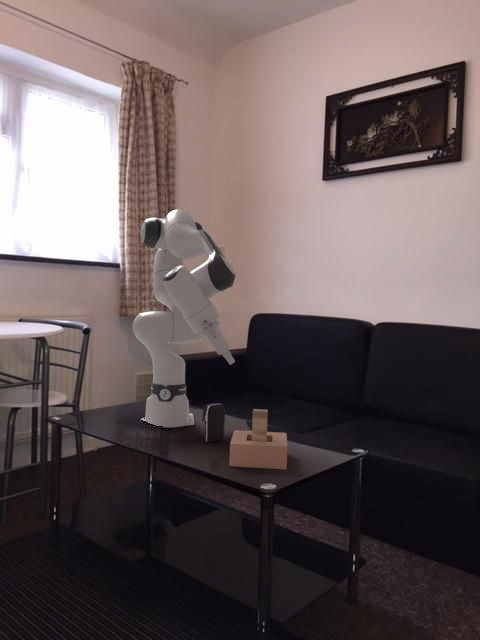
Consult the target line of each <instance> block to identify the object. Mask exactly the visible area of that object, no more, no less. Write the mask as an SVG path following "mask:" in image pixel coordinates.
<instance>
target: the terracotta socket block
mask: <svg viewBox="0 0 480 640" xmlns="http://www.w3.org/2000/svg"><path fill="white" fill-rule="evenodd" d="M228 462H229V463H228V466H229V467H238V468H239V467H240V468H252V469H253V468H255V469H270V470H271V469H272V470H274V469H275V470H287V468H288V467H287V466H288V437H287V432H275V431H274V432H273V431H267V440H266V442H264V441H252V430H237V429H235V430H234V431H233V434H232V436H231V439H230V443H229V461H228Z"/></svg>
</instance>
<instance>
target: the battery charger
mask: <svg viewBox="0 0 480 640" xmlns="http://www.w3.org/2000/svg"><path fill="white" fill-rule="evenodd" d="M201 417H202V418H201V419H202V420H201V421H203V422H204V436H203V441H204V442H207V443H211V442H212V443H213V442H217V441H221V440H224V439H225V422H226V420H225V419H226V407H225V405H224V404H223V403H217V402H214V403H213V402H212V403H208V404H205V405H204V406H203V408H202V415H201Z"/></svg>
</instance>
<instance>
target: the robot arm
mask: <svg viewBox="0 0 480 640" xmlns="http://www.w3.org/2000/svg"><path fill="white" fill-rule="evenodd" d="M140 239H141V241H142V244H143V245H144V246H145V247H147V248H149V249H157V250H156V252H155V254H154V260H153V268H152V269H153V274H152V281H153V295H154V298H155V300H157V301H158V302H159V303H161V304H162V305H164V306H166V307H167V308H168V309H169V310H170V311H163V310H162V311H161V310H160V311H158V310H156V311H155V310H149V311H145V312H139V313H138V314H137V315H136V316H135V318H134V320H133V322H132V323H133V324H132V331H133V335H134V336H135V338H136V340H138V341H140V343H142V345H144V347H145V348H146V350H147V351H148V353H149V354H150V357H151V363H152V382H151V386H150V393H151V394H150V396H148V397H147V399H146V401H145V402H146V404H145V417H142V418H140V421H141V420H143V421H146V422H148V423H150V424H153V425H156V426H163V427H162V428H180V427H184V426H194V425H195V419H194V414H193V413H192V412H191V411H192V410H191V409H190V405H189V404H190V403H189V402H190V400H189V399H188V396H187V395H186V394H187V385H186V361H185V360H184V358H183V357H181V356H180V355H178V354H177V353H175V352H174V351H172V350H170V347H169V344H192V343H193V344H194V343H199V342H201V341H203V340H204V339H205V338H206V339H207V340H208V341H209V344H210V345H211V346H212V347H213V349H214V351H215V352H216V354H217V355H219V356H221V355H222V357H223V358H224V359H225V360H226V362H228V364H229V365H230V366H231V365H233V364H234V363H235V362H236V361H235V358H234V357H233V356H232V353H231V351H230V345H229V344H228V342H227V340H226V338H225V337H224V335H223V332H222V330H221V328H220V321H219V320H218V319H220V317H221V314H220V313H219V310H217V309H216V307H215V305H214V304H213V303H212V301H211V300H210V299H212V298H213V297H215V296H216V295H217V294H219V293H221V292H224V291H225V290H227V289H229V288H231V287H233V286H234V283H235V279H236V272H235V270H234V269H235V268H233V265H232V264H231V263H230V262H229V261H228V259H227V258H226V257H225V256H224V255H223V253H222V252H221V249H220V248H219V247H218V245H217V244H216V242H215V241H214V240H213V238H212V237H211V236H210V234H208V233H207V231H205V230H204V227H203V226H202V224H201V223H200V222H197V221H194V218H193V217H192V216H191V214H190V213H189V212H187V211H186V210H184V209H175V210H172V211H170V212H169V213H168V214H167V215H166V217H165V218H160V217H159V218H157V217H149V218H146V219H145V220H144V221H143V223H142V226H141V229H140ZM202 255H205V256H206V257H207V259H206V260H205V261H204V262H203V263H202V264H200V265H199V266H196V268H194V269H192V270H191V271H190V270H189V269H188V268H187V267H186V266H185V265H184V260H192V259H194V258H197V257H199V256H202ZM144 418H145V419H144ZM156 426H155V427H156Z"/></svg>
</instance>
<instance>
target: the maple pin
mask: <svg viewBox="0 0 480 640" xmlns="http://www.w3.org/2000/svg"><path fill="white" fill-rule="evenodd" d="M252 409H253V410H252V418H251V419H252V420H251V423H252V424H251V431H252V441H264V442H266V440H267V432H268V409H260V408H259V409H257V408H252Z"/></svg>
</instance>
